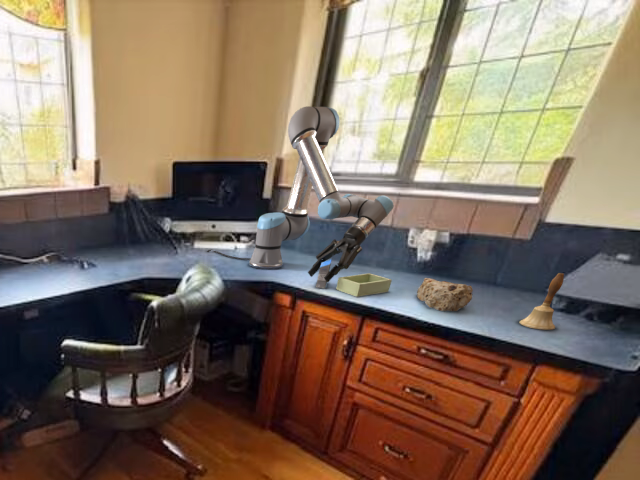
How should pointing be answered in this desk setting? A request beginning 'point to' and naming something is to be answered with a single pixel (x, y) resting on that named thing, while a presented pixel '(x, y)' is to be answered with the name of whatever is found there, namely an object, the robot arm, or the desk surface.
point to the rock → (444, 295)
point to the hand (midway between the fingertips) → (317, 277)
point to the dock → (363, 284)
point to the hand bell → (544, 308)
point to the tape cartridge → (323, 274)
